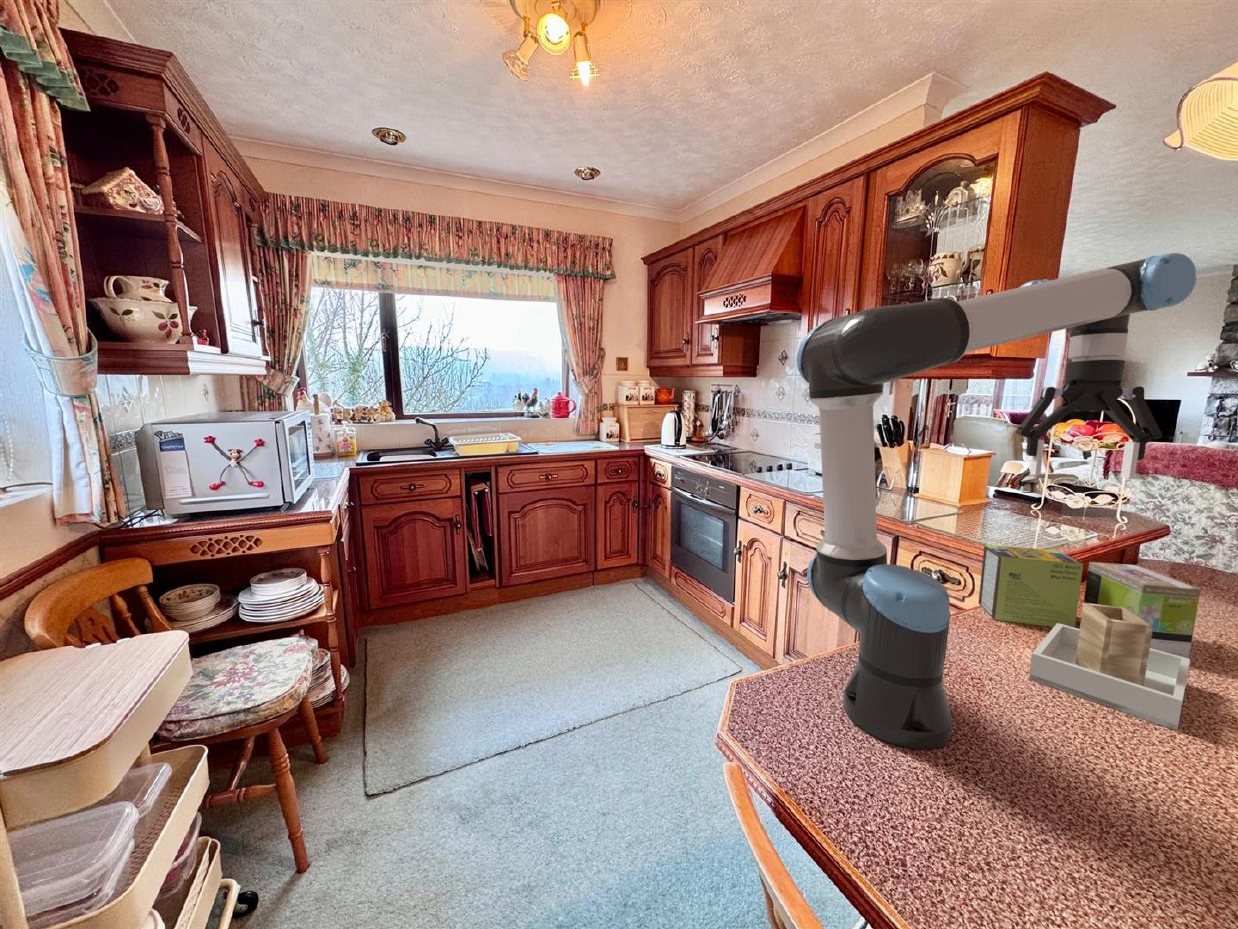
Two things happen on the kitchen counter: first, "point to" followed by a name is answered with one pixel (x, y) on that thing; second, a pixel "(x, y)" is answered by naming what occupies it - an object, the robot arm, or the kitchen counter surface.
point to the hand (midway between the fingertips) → (1079, 475)
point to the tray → (1113, 679)
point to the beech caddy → (1114, 642)
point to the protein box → (1030, 585)
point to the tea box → (1148, 602)
